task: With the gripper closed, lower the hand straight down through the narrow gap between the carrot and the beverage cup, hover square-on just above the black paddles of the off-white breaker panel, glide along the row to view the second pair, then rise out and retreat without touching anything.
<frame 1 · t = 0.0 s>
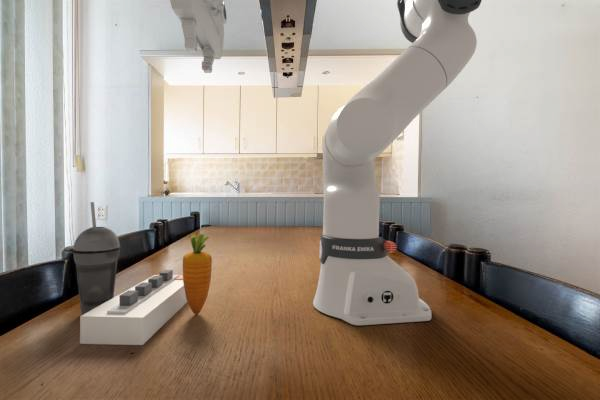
hand: (199, 61, 59), 48 cm above the table, tool pointing down, fingers open, 8 cm apart
carrot: (196, 316, 54), on the table
breaker panel: (149, 313, 54), on the table
beverage cup: (96, 313, 54), on the table
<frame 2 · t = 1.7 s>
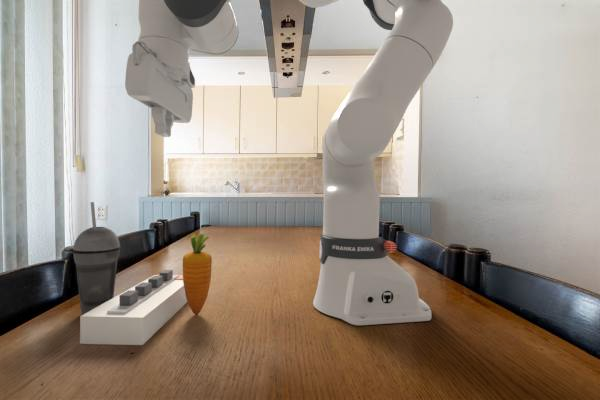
hand: (163, 135, 58), 33 cm above the table, tool pointing down, fingers closed
nothing on the table moved.
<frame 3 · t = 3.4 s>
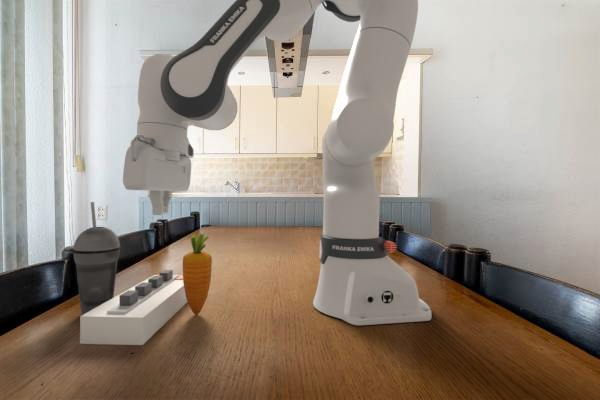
hand: (160, 214, 58), 18 cm above the table, tool pointing down, fingers closed
nothing on the table moved.
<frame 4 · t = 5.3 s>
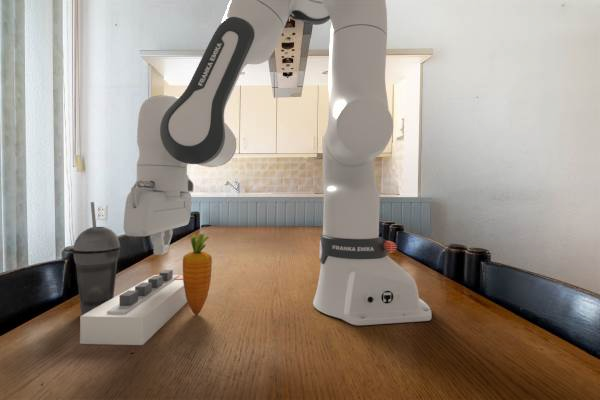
hand: (161, 253, 58), 10 cm above the table, tool pointing down, fingers closed
nothing on the table moved.
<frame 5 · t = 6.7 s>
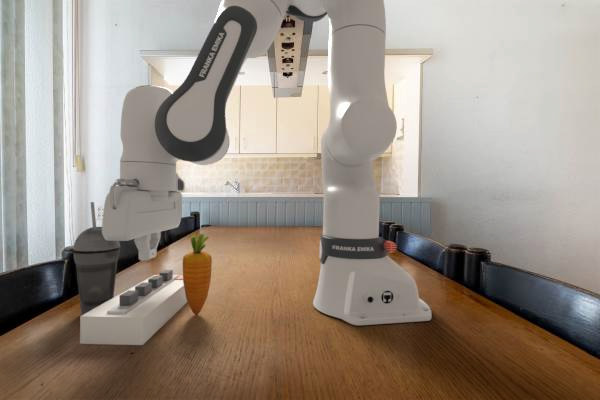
hand: (147, 258, 53), 10 cm above the table, tool pointing down, fingers closed
nothing on the table moved.
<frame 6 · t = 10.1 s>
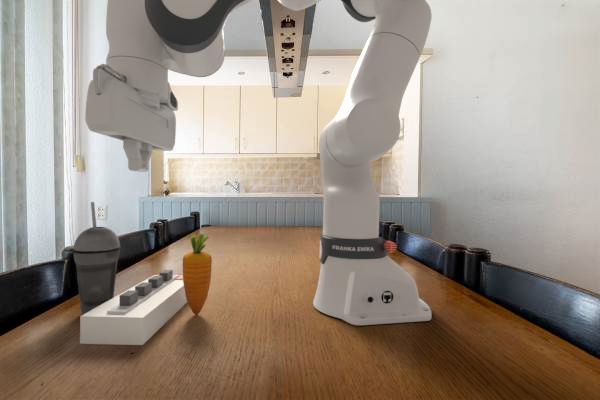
hand: (138, 171, 49), 25 cm above the table, tool pointing down, fingers closed
nothing on the table moved.
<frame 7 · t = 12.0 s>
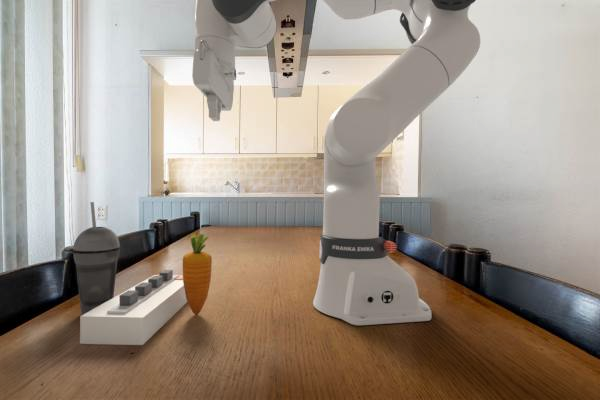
hand: (214, 119, 69), 39 cm above the table, tool pointing down, fingers closed
nothing on the table moved.
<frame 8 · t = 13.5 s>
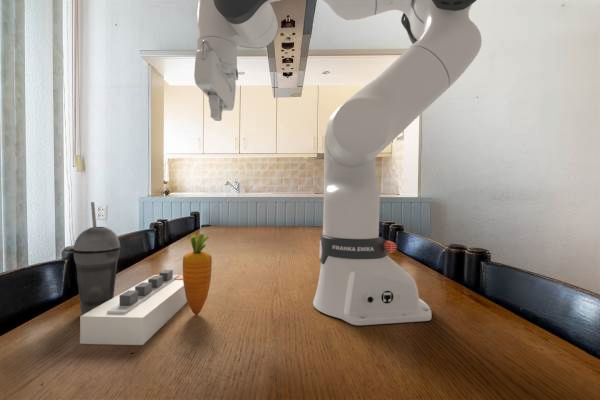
hand: (216, 119, 69), 39 cm above the table, tool pointing down, fingers closed
nothing on the table moved.
at the end: beverage cup moved 0.2 cm from its start; carrot moved 0.2 cm from its start; carrot tilted 0° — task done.
